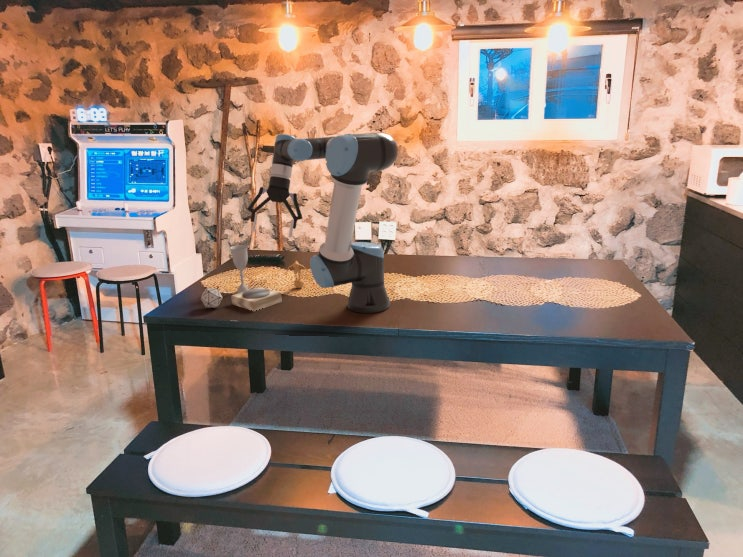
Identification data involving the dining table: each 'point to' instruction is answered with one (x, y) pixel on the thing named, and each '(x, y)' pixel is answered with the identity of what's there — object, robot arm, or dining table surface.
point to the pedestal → (256, 298)
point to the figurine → (298, 282)
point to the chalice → (240, 263)
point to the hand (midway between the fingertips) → (271, 234)
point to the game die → (211, 297)
